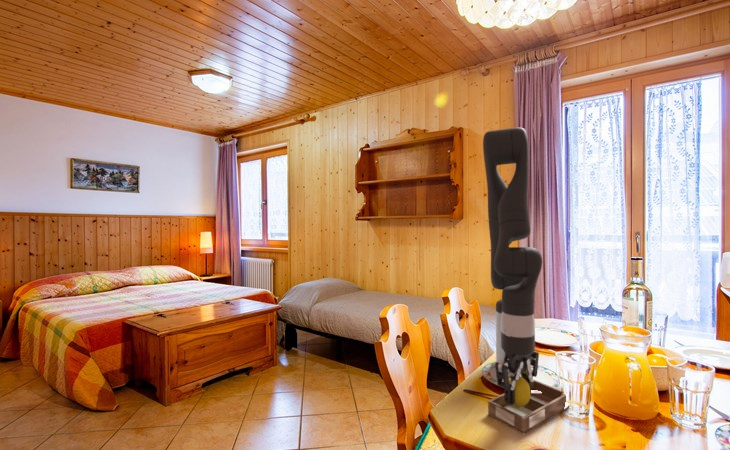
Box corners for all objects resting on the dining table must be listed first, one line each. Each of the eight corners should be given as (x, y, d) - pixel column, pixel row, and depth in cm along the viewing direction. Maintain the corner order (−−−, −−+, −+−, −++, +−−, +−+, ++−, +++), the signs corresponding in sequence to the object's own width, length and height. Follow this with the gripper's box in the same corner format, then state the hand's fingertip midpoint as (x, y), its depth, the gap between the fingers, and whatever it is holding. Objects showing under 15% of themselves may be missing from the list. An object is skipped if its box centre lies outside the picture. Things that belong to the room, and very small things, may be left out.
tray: (533, 392, 103) (533, 379, 103) (569, 407, 95) (569, 394, 95) (487, 415, 93) (487, 401, 93) (524, 434, 85) (524, 419, 84)
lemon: (532, 415, 88) (533, 381, 88) (507, 412, 89) (507, 379, 89) (527, 402, 94) (527, 371, 93) (503, 400, 95) (504, 369, 94)
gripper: (521, 320, 97) (521, 384, 98) (484, 332, 90) (485, 401, 91) (549, 328, 91) (549, 396, 92) (512, 341, 83) (513, 416, 84)
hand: (517, 398), depth 91 cm, fingers open, 5 cm apart
